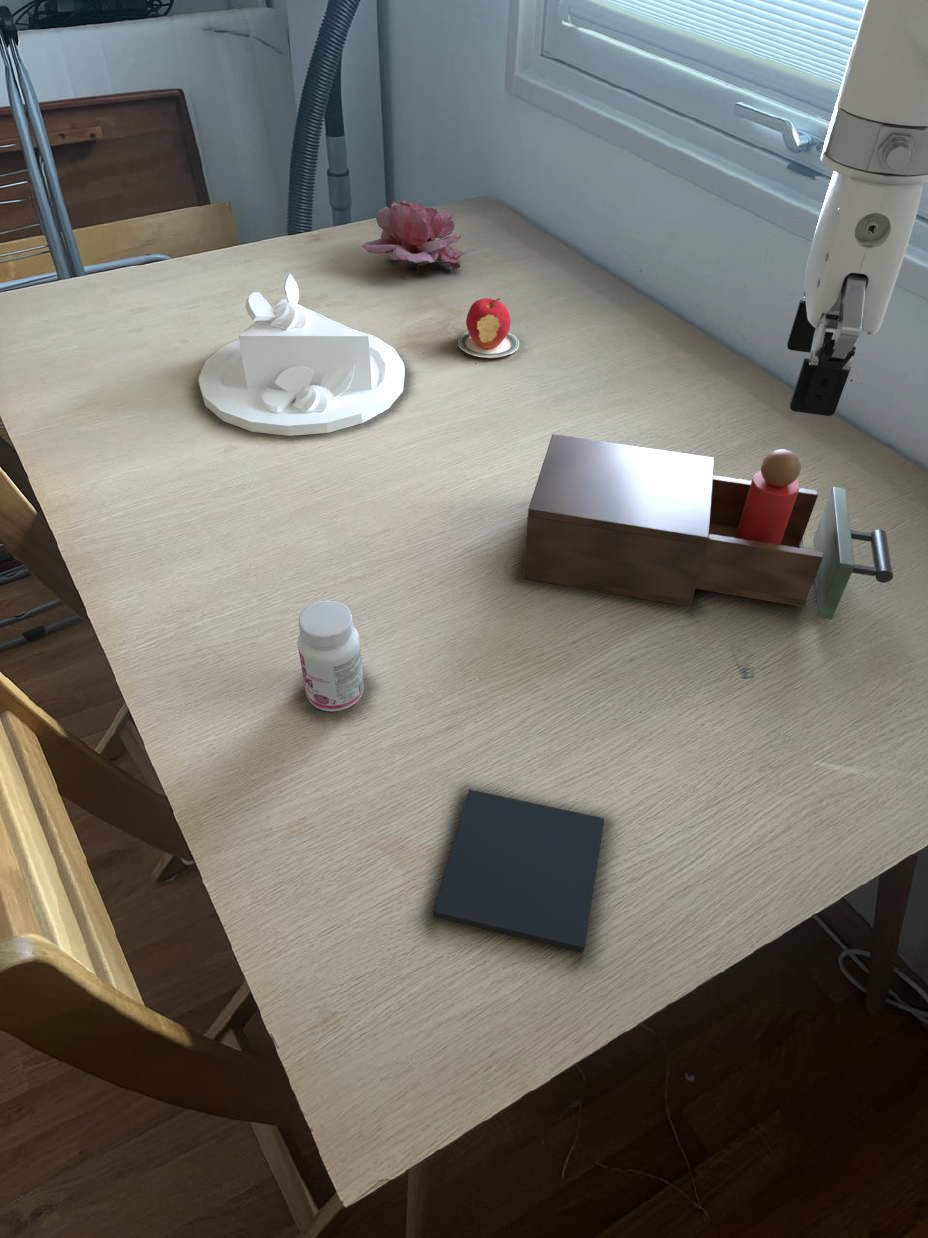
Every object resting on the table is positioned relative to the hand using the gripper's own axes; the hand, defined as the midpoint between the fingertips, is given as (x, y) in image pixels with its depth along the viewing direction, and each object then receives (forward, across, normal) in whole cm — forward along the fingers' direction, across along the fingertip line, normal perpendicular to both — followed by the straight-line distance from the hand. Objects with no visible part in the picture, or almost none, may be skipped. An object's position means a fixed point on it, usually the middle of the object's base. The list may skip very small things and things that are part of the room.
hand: (808, 379), depth 69 cm
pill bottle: (+21, -24, +33) cm, 45 cm away
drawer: (+20, 0, -2) cm, 20 cm away
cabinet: (+21, 0, +12) cm, 24 cm away
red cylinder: (+18, 0, 0) cm, 19 cm away
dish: (+21, +24, +53) cm, 62 cm away
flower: (+22, +60, +49) cm, 80 cm away
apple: (+21, +38, +33) cm, 55 cm away
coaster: (+20, -36, +15) cm, 44 cm away
